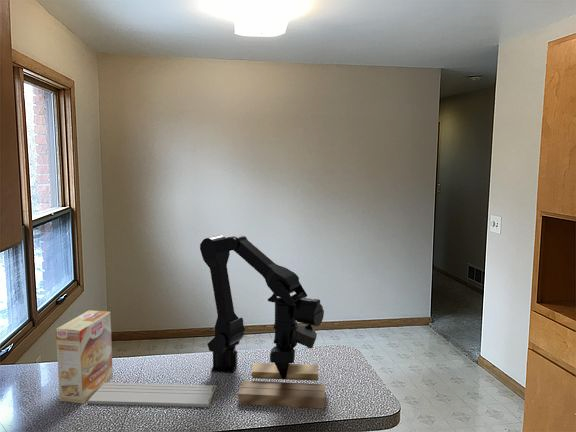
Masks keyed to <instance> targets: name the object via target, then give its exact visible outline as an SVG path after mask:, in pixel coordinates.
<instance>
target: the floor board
mask: <svg viewBox="0 0 576 432" xmlns="http://www.w3.org/2000/svg"><path fill="white" fill-rule="evenodd" d="M237 394H238V395H237V397H238V398H237V402H238V403H237V404H238V405H247V404H249V406H250V405H252V404H253V406H269V407H270V406H271V407H287V406H288V407H289V408H292V407H293V408H308V409H309V408H310V409H325V407H326V384H324V383H323V384H322V383H304V382H303V383H302V382H301V383H300V382H283V381H282V382H281V381H264V380H263V381H261V380H242V382H241V385H240V388H239V390H238V393H237Z"/></svg>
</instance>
